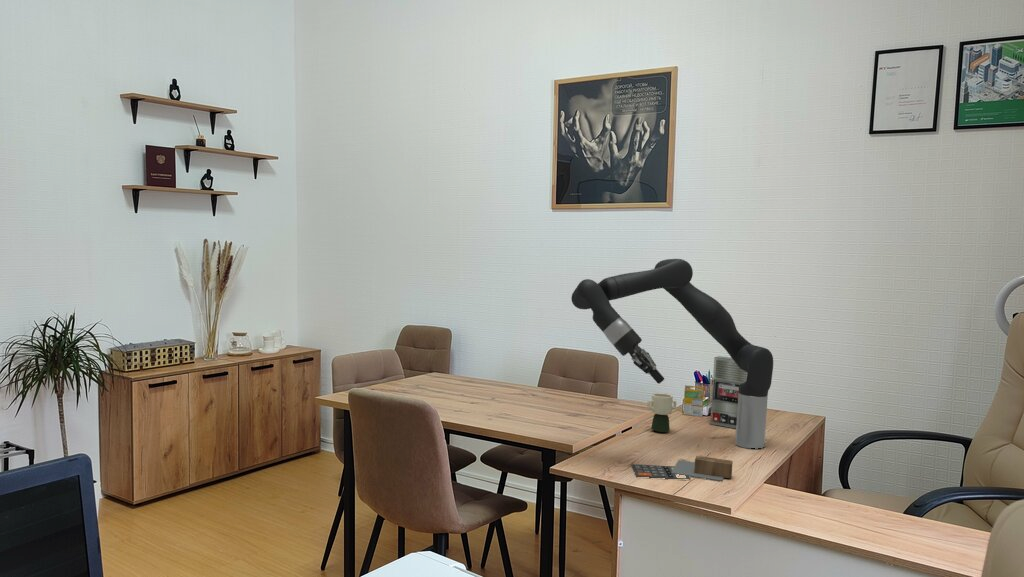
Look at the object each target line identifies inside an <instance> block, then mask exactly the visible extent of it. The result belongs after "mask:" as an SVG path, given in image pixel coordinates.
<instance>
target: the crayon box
mask: <svg viewBox="0 0 1024 577" xmlns="http://www.w3.org/2000/svg"><path fill="white" fill-rule="evenodd" d="M693 388H695V389H693ZM704 389H705V388H704V386H698V385H697V386H696V385H685V386H684V391H683V392H684V396H683V409H682V413H683V416H696V417H703V410H704V395H705V394H704V393H705V392H704Z"/></svg>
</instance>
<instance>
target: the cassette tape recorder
mask: <svg viewBox="0 0 1024 577" xmlns="http://www.w3.org/2000/svg"><path fill="white" fill-rule="evenodd" d="M713 360H714V361H713V377H712V388H711V389H712V390H711V391H712V394H711V406H710V407H711V408H710V420H709V421H708V422H709V425H711V426H714V425H715V426H721V427H725V428H732V429H736V424H737V408H738V393H739V385H740V384H742V383H745V382H746V380H747V373H748V372H746V371H744V370H742V369H741V368H739V367H738V365H737V364H736V363H735V362H734V360H733V359H732V358H731V356H730V357H728V356H720V355H719V356H715V357H714V359H713Z"/></svg>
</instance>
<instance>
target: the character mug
mask: <svg viewBox="0 0 1024 577" xmlns="http://www.w3.org/2000/svg"><path fill="white" fill-rule="evenodd" d="M673 398H674V396H673V395H672V394H668V393H663V392H655V393H652V394H651V399H648V400H647V405H646V408H647V410H651V412H652V413H653V414H654V415H653V418H652V422H651V427H650V429H651V430H652V431H655V432H656V433H657V432H659V433H668V432H670V431H671V428H670V418H669V415H671V414H672V412H673V411H672V410H676V408H677V400H676V399H673Z"/></svg>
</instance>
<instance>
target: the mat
mask: <svg viewBox="0 0 1024 577" xmlns="http://www.w3.org/2000/svg"><path fill="white" fill-rule="evenodd" d="M674 466H675V467H674V469H673V471H672V472H671V473H674V474H679V475H688V476H693V477H692V478H694V477H699V478H698V479H700V478H706V479H705V480H707V479H710V480H709V481H714V480H716V482H720V481H723V480H724V478H725V477H718V476H711V475H704V474H698V473H694V468H695V461H688V460H680V459H678V460H677V461H676V463H675V465H674Z"/></svg>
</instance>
